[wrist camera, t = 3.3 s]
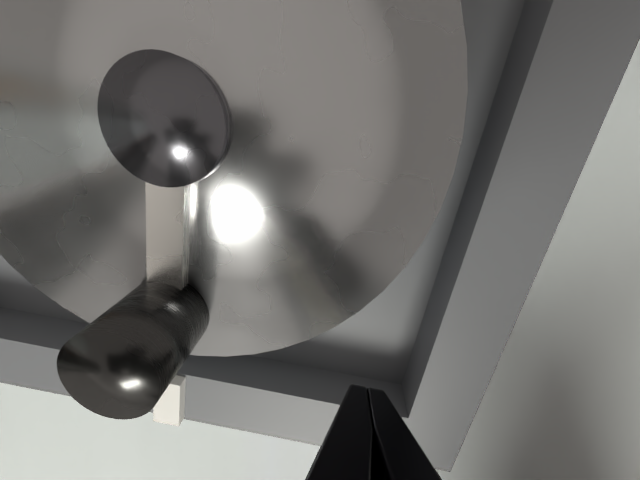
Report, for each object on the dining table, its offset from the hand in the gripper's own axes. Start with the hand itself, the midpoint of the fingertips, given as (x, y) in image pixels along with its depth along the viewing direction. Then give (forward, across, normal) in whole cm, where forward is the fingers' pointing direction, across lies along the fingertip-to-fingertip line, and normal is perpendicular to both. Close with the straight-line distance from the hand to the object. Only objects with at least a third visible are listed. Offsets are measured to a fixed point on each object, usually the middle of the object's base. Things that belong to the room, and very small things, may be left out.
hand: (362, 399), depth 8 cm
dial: (+3, +6, -6) cm, 9 cm away
